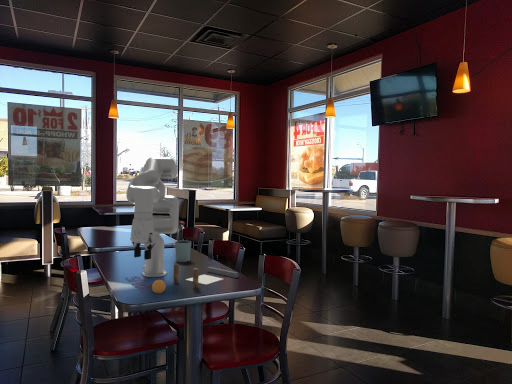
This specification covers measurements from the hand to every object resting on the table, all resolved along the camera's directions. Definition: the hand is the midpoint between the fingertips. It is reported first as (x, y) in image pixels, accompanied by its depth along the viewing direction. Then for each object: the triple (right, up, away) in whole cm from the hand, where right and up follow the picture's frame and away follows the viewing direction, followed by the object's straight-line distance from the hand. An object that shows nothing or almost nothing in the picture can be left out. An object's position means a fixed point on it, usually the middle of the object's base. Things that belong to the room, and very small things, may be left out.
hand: (142, 257), depth 165 cm
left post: (+9, -17, +26) cm, 32 cm away
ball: (+5, -14, +8) cm, 17 cm away
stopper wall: (+30, -17, +46) cm, 57 cm away
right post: (+20, -18, +19) cm, 32 cm away
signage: (-7, -17, +23) cm, 30 cm away
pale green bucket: (+2, -15, +78) cm, 79 cm away
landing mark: (+22, -17, +34) cm, 44 cm away
